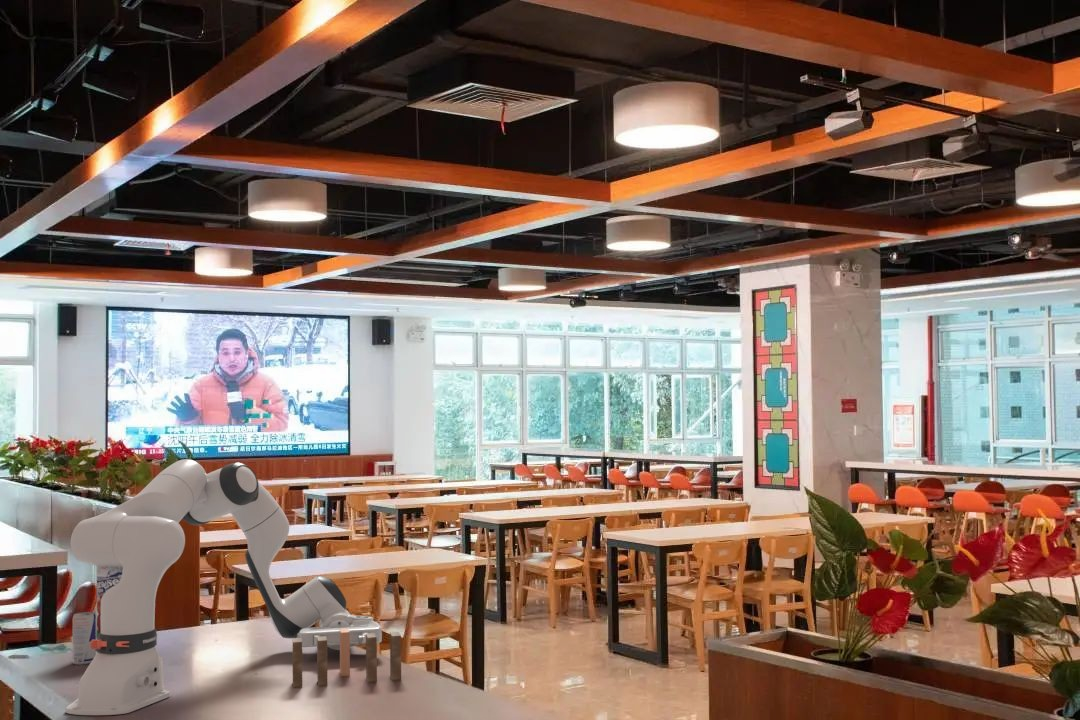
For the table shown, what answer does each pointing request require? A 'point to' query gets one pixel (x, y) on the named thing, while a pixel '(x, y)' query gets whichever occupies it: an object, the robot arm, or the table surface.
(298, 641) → the domino
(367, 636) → the domino
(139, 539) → the robot arm
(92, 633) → the energy drink
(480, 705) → the table surface
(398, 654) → the domino
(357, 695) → the table surface
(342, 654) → the domino
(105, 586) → the juice carton
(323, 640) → the domino
